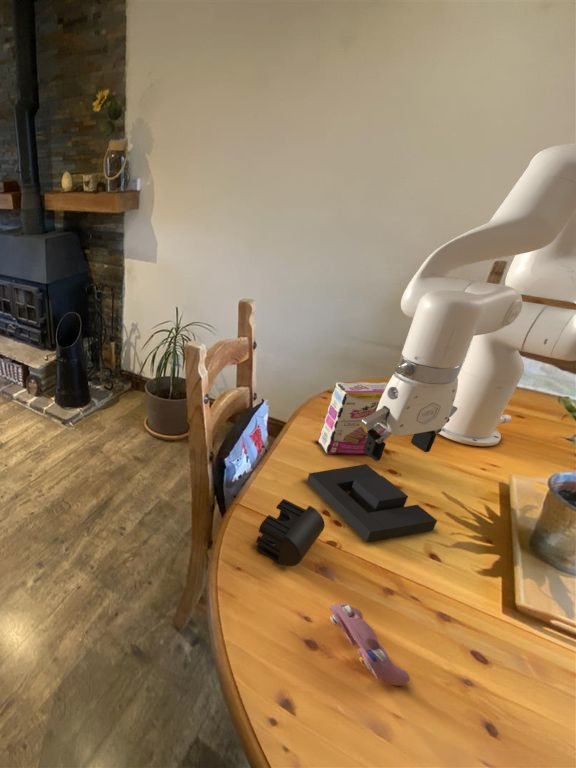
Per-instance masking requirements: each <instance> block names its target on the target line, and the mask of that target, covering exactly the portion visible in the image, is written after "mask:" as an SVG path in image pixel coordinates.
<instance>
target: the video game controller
mask: <svg viewBox="0 0 576 768" xmlns="http://www.w3.org/2000/svg"><path fill="white" fill-rule="evenodd" d="M328 607H329V610H330V612H331V614H332V616H331V615H330V617H329V619H330V621H331V623H332V625H334V626H335V627H336V626H337V625H338V626H339V627H340V628H341V630H342V632H343V634H344V635H345V637H346V638H347V640H348V641H349V643H350V644H351V645H352V646H355V645H357V646H358V647H359V648H358V650H357V654H358V656H359V658H358V660H359V662H360V663H361V664H362V665H365V667H366V668H367V669H368V670H369V671H370V672H371V673H372V674H373V675H374V677H375V678H376V679H377V680H381V681H383V682H384V683H386V684H389V685H392V686H398V687H399V686H405V685H406V684H408V683H409V681H410V679H411V678H410V675H409V673H408V672H407V671H406V670H404V669H403V668H401V667H398V666H397V665H395V664H394V662H393V661H392V659H391V657H390V656H389V655H388V653H387V651H386V650H385V648H384V647H383V645H382V644H381V643H380V641H379V639H378V637H377V634H376V632H375V630H374V629H373V628H372V626H371V625H369V624H368V623H367V622H366V621H365V620H364V619H363V618H364V617H363V616H364V615H363V613H362V611H361V610H360V609H358V608H356V607H354V606H351V605H350V604H348V603H346V602H345V603H344V602H342V603H341V602H340V603H337V604H336V603H335V604H332V605H330V606H328Z"/></svg>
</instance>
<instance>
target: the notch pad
mask: <svg viewBox="0 0 576 768" xmlns="http://www.w3.org/2000/svg"><path fill="white" fill-rule="evenodd" d="M375 476H381V474H380V473H378V472H377V471H375V470H374V469H373V468H371V466H369V465H368V464H367V463H365V464H364V463H363V464H358V465H352V466H346V467H339V468H333V469H332V468H331V469H326V470H319V471H315V472H309V473H308V476H307V480H306V483H307V484H308V486H310V488H312V489H313V491H315V492H316V493H317V494H318V495H319V497H321V499H323V500H324V501H325V502H326V503H327V504H328V505H329V507H331V508H332V509H333V510H334V511H335V512H336V514H338V515H339V516H340V517H341V518H342V520H344V521H345V522H346V523H347V524H348V525H349V526H350V527H351V528H352V529H353V530H354V531H355V532H356V533H357V534H358V535H359V536H360V537H361V538H362V539H363V540H364V541H365V542H366V543H369V542H375V541H380V540H381V541H382V540H387V539H392V538H398V537H405V536H409V535H416V534H422V533H426V532H431V531H434V529H435V527H436V524H437V523H438V520H437V518H435V517H434V516H433V515H432V514H430V513H429V512H427V511H426V510H425V509H424V508H423V507H421V506H420V505H418V504H413V505H406V506H404V507H400V508H394V509H388V510H383V511H377V512H371V513H368V512H367V511H366V510H365V509H364V508H363V507H362V506H361V505H359V504H358V503H357V502H356V501H355V500H354V499H353V498H352V497H351V496H350V495H349V494H348V493H347V492H349V491H351V488H352V485H353V482H354V480H357V479H363V478H369V477H375Z"/></svg>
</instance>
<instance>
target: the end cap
mask: <svg viewBox="0 0 576 768" xmlns="http://www.w3.org/2000/svg"><path fill="white" fill-rule="evenodd" d="M276 509H277V510H279V515H278V517H277V518H275V517H274V516H272V515H270V514H268V515H267V516H266V517H265V518H264V520H263V521H262V522H261V523H260V525H259V529H258V533H260V534H262V535H261V536H260V535H258V536H257V538H256V548H255V549H256V551H257V552H259V553H260V554H262V555H264V556H265V557H267V558H268V559H270V560H272V561H274V562H275V563H277V564H279V565H283V566H287V567H293V566H297V565H299V563H301V562H302V560H303V559H304V558H305V556H306V555H307V553H308V552H309V550H310V549H311V548H312V546H313V545H314V543H315V542H316V541H317V539H319V536H320V535H321V534H322V532H323V531H324V529H325V527H326V526H325V520H324V518H323V516H322V515H321V513H320V512H319V511H318V510H317V509H316V508H314V507H312V506H311V505H308V507H307V508H306V509H305V508H303V507H301V506H299V505H297V504H295V503H293V502H291V501H289V500H287V499H285V498H282V500H280V502H279V503H278V504H277V505H276Z"/></svg>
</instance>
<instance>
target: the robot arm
mask: <svg viewBox="0 0 576 768" xmlns="http://www.w3.org/2000/svg"><path fill="white" fill-rule="evenodd" d="M512 256H514V257H513V259H512V262H511V264H510V266H509V268H508V270H507V274H506V276H505V280H504V284H499V283H493V282H486V281H477V280H474V279H465V278H460V277H459V278H458V277H451V276H447V275H448V274H450V273H451V272H453V271H455V270H458V269H460V268H463V267H464V266H469V265H472V264H476V263H480V262H486V261H491V260H495V259H502V258H508V257H512ZM523 295H524V296H527V297H528V296H529V297H536V298H542V299H548V300H555V301H563V302H568V303H572V304H573V303H574V304H575V305H576V142H574V143H573V142H572V143H564V144H559V145H554V146H550V147H546V148H545V149H542V150H541V151H539V152H537V154H535V155H534V156H533V158H532V159H531V160H530V162H529V164H528V166H527V167H526V169H525V171H523V174H522V175H521V176H520V177H519V178H518V180H517V182H516V183H515V184H514V186H513V187H512V188H511V190H510V192H509V193H508V194H507V196H506V197H505V199H504V200H503V202H502V203H501V204H500V206H499V207H498V209H496V211H495V213H494V214H493V216H492V217H491V218H490V220H489V221H488V222H486V223H484V224H482V225H480V226H476V227H474V228H473V229H470V230H468V231H466V232H464V233H462V234H460V235H458V236H456V237H454V238H453V239H451V240H449V241H447V242H445V243H444V244H442V245H441V246H439V247H438V248H436V249H435V250H434V251H433V252H432V253H431V254H430V255H428V257H427V258H426V259H425V260H424V261H423V263H422V264H421V266H420V267H419V268H418V270H417V271H416V273H415V274H414V275H413V277H412V278H411V280H410V281H409V283H408V284H407V286H406V287H405V289H404V291H403V293H402V296H401V300H400V309H401V311H402V313H403V314H404V315H405V316H406V317H409V318H411V319H412V321H411V324H410V328H409V330H408V333H407V336H406V339H405V342H404V346H403V348H402V351H401V355H400V358H399V360H398V363H397V365H396V367H395V373H393V374H392V376H391V377H390V379H389V381H388V382H387V383H388V385H387V386H386V388H385V390H384V393H383V395H382V397H381V399H380V402H379V404H378V407H377V410H376V412H374V413H372V414H371V415H369V416H367V417H365V418H363V419H362V420H361V425H362V430H363V431H364V432H365V434H366V435H367V436H368V437H367V440H366V443H365V446H364V449H363V451H364V453H366V454H365V455H367V456H368V457H369V458H371V459H372V460H373V461H375V462H379V461H381V459H382V456H383V453H384V450H385V448H386V446H387V445H386V442H385V441H386V440H387V439H388V438H389V437H390V436H391V435H393V436H396V437H403V436H410V435H412V437H411V442H410V443H411V445H413V446H414V447H416V448H417V449H419V450H420V451H422V452H423V453H430V452H431V449H432V447H433V444H434V442H435V441H436V440H435V439H436V437H437V434H438V435H440V436H442V437H444V438H446V439H449V440H451V441H454V442H457V443H460V444H464V445H468V446H474V447H491V446H495V445H498V444H499V442H500V441H501V439H502V436H501V435H502V434H501V433H500V432H499V431H498V429H497V428H498V426H500V425H503V424H509V423H512V421H513V417H512V416H511V415H510V414H504V412H505V410H506V408H507V406H508V404H509V402H510V400H511V399H512V397H513V394H514V393H515V390H516V389H517V386H518V385H519V383H520V381H521V379H522V377H523V375H524V372H525V364H524V359H523V357H522V355H521V354H520V352H524V353H529V354H532V355H533V354H534V355H538V356H541V357H546V358H551V359H555V360H562V361H569V362H574V361H576V309H571V308H567V307H560V306H553V305H549V304H542V303H535V302H529V301H524V300H523ZM384 423H387V425H388V426H387V425H385V424H384ZM381 427H383V428H384V429H386V430H385V431H384V432H383V433H381V434H380V435H379V434H378V433H377V432H376V431H377V430H378V429H380V428H381Z"/></svg>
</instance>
